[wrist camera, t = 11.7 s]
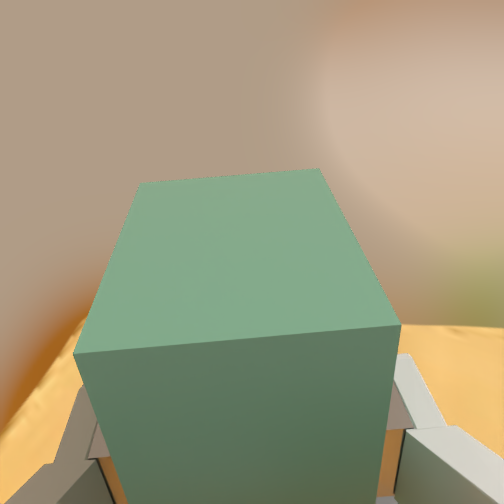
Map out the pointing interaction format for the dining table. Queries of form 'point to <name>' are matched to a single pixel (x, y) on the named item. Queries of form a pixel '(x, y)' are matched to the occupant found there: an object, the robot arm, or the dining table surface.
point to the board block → (241, 346)
